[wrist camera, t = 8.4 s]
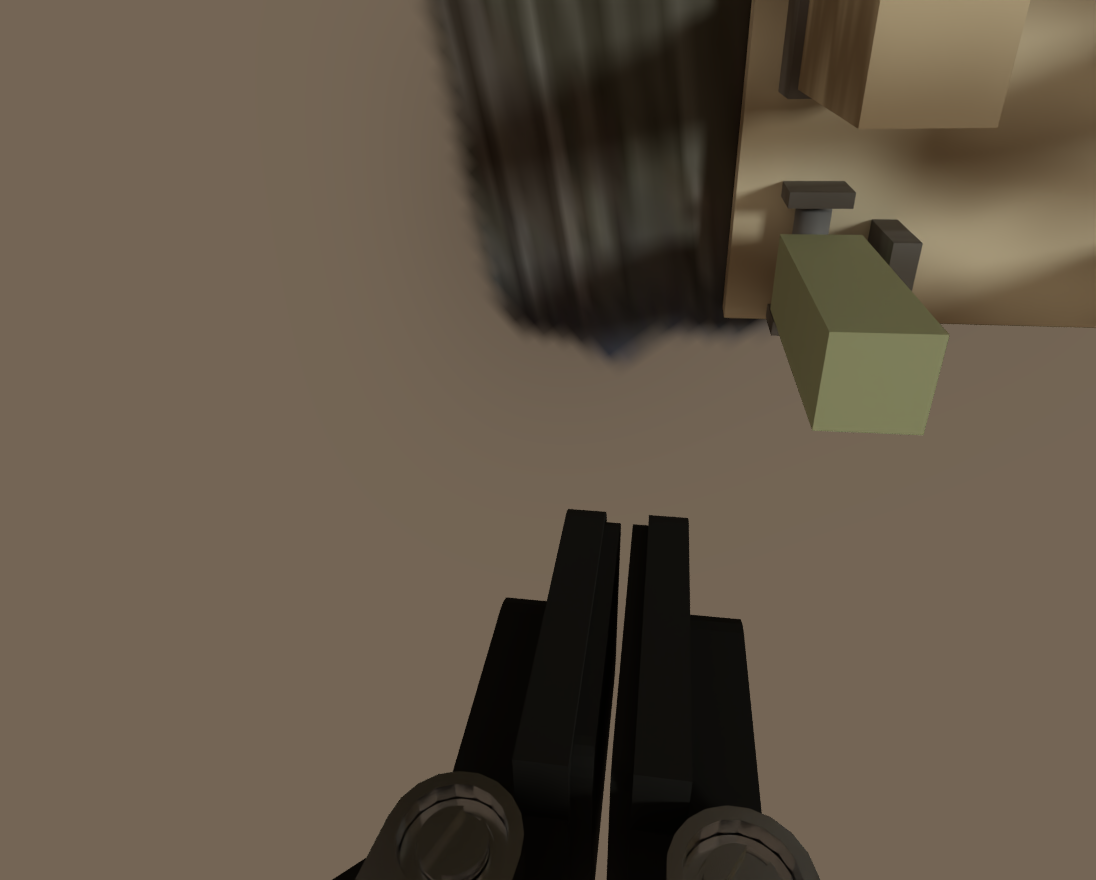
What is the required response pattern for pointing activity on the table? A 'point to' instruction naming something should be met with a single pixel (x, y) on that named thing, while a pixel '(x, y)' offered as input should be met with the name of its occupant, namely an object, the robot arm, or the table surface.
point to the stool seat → (925, 150)
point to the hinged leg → (853, 332)
